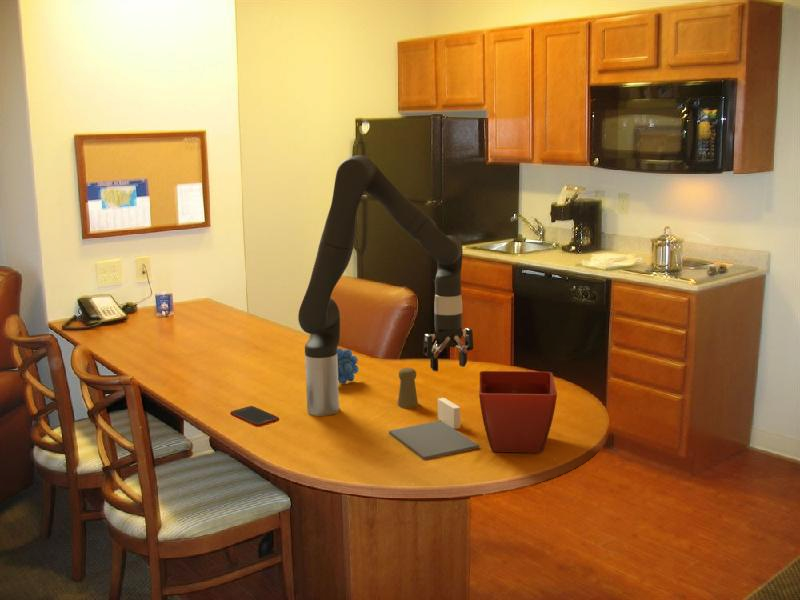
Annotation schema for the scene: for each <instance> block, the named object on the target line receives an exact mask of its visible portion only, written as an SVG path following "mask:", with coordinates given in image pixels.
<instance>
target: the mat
mask: <svg viewBox="0 0 800 600" xmlns="http://www.w3.org/2000/svg"><path fill="white" fill-rule="evenodd" d="M388 435H390V436H391V437H393V438H394V439H395V440H396V441H398V442H399V443H400V444H401V445H403V446H405V447H406V448H407V449H408V450H410V451H411V452H413V454H415V455H417V456H418V457H419V458H420V459H422V460H423V461H425V460H429V459H435V458H439V457H444V456H448V455H453V454H457V453H463V452H466V451H470V450H476V449H479V448H480V445H479V444H478V443H477V442H475V441H474V440H472V439H470V438H468V437H467V436H466V435H464V434H463V433H461V432H459V431H458V430H456V429H453V428H452V427H450V426H448V425H447V424H445V423H444V422H442V421H440V420H437V421H436V420H435V421H432V422H426V423H422V424H417V425H412V426H406V427H401V428H397V429H391V430H388Z"/></svg>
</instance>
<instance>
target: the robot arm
mask: <svg viewBox="0 0 800 600" xmlns="http://www.w3.org/2000/svg"><path fill="white" fill-rule="evenodd" d="M334 179H335V180H334V184H333V192H332V193H333V194H332V198H331V205H330V207H329V210H328V213H327V216H326V221H325V224H324V226H323V231H322V234H321V237H320V241H319V244H318V246H317V247H318V249H317V253H316V258H315V261H314V264H313V268H312V272H311V274H310V275H311V276H310V279H309V283H308V285H307V287H306V292H305V294H304V297H303V298H302V300H301V301H302V302H301V305H300V307H299V309H298V314H297V315H298V316H297V317H298V324H299V326H300V328H301V330H302V331H304V333H306V334H310V337H309V339H308V340H307V342H306V343H305V344H304V359H305V360H304V361H305V362H304V363H305V383H306V384H305V387H306V388H305V389H306V411H307V413H308V414H309V415H312V416H316V417H318V416H319V417H323V416H324V417H325V416H331V415H335V414H337V413H338V412H339V411H340V401H339V393H340V391H339V381H338V360H337V349H338V348H339V347H338V346H339V344H340V341H341V340H340V338H341V335H340V334H341V315H340V309H339V306H338V304H337V303H336V301H335V300H334V299H333V298H331V297H332V293H333V291H334V289H335V287H336V286H337V284H338V282H339V281H340V279H341V278H342V276H343V274H345V272H346V270H347V267H348V266H349V263H350V260H351V258H352V254H353V252H354V251H353V250H354V248H355V243H356V237H357V215H358V210H359V209H358V208H359V206H360V204H361V200H362V198H363V194H364V193H367V194H368V195H370V196H372V197H373V198H374V199H375V200H376V201H377V202H378V203H379V204H380V205H381V206H382V207H383V208H384V209H385V211H386V212H387V213H388V214H389V215H390V217H391V218H392V220H393V221H394V222H395V223H396V224H397V225H398V227H399V228H400V229H402V230H403V231H404V232H406V234H408V235H409V236H410V237H411V238H412V239H413V240H415V241H416V242H418V244H420V246H421V248H422V249H424V251H425V252H427V254H428V255H429V256H430V257H431V258H432V259H433V260H435V262H436V263H437V264H436V265H437V266H436V267H437V268H436V269H437V270H436V274H435V280H434V301H433V303H434V304H433V306H434V307H433V308H434V310H433V311H434V312H433V313H434V318H433V319H434V321H433V322H434V333H433V334H432V333H431V334H429V333H425V334H424V336H423V356H426V357H427V358H429V359H430V360H429V361H430V362H429V363H430V365H429V366H430V369H431V370H432V371H433V372H438V371H439V358H438V357H439V355H440V353H441V352H443V351H444V349H446V350H447V349H449V348H457V349H458V350H459V352H458V354H459V355H458V361H459V362H458V365H459V366H460V367H463V368H464V367H466V365H467V362H468V352H470V351H473V350H474V336H473V335H474V333H473V329H471V328H469V327H465V328H464V329H463V328H462V327H463V299H462V278H461V277H462V265H463V253H464V251H463V249H464V248H463V244H462V242H461V240H460V239H459V238H458V237H456V236H455V235H450V234H449V235H446V234H445V233H444V232H443V231H442V230H440V228H439V227H437V223H436V222H435V221H434V220H433V219H432V218H431V217H430V216H428V215H427V213H425V212H424V211H423V210H421V208H419V207H418V206H417V205H416V204H415V203H413V202H412V201H411V200H410V199H409V198H407V197H406V196H405V195H404V194H403V193H402V191H400V189H398V188H397V187H396V186H395V185H394V184H393V182H391V181H390V180H389V179H388V178H387V176H386V175H385V174H384V173H383V172H382V171H381V169H380V168H379V167H378V166H377V165H376V163H375V162H374V161H373V160H371V158H369V157H368V156H367V155H360V154H357V155H353V156H351V157H347V158H346V159H344V160H343V161H341V163H340V164H339V165H338V167H337V170H336V174H335V178H334ZM462 337H464V343H463V341H462V340H461V339H462ZM434 340H435V342H434ZM433 343H434V344H433Z"/></svg>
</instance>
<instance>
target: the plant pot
mask: <svg viewBox="0 0 800 600" xmlns="http://www.w3.org/2000/svg"><path fill="white" fill-rule="evenodd" d="M478 387H479V388H478V389H479V390H478V395H479V397H478V398H479V404H480V411H481V415H482V416H481V417H482V420H483V421H482V422H483V426H484V431H485V434H486V436H487V440H488V444H489V447H490V450H491V451H492V452H494V453H495V452H496V453H531V454H532V453H533V454H534V453H535V454H536V453H537V454H538V453H539V454H540V453H542V452H543V450H544V448H545V445H546V442H547V439H548V437H549V434H550V431H551V426H552V423H553V419H554V414H555V409H556V406H557V397H558V392H557V389H556V384H555V379H554V374H553V372H551V371H530V370H529V371H526V370H524V371H523V370H522V371H521V370H519V371H518V370H481V371H479V386H478Z"/></svg>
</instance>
